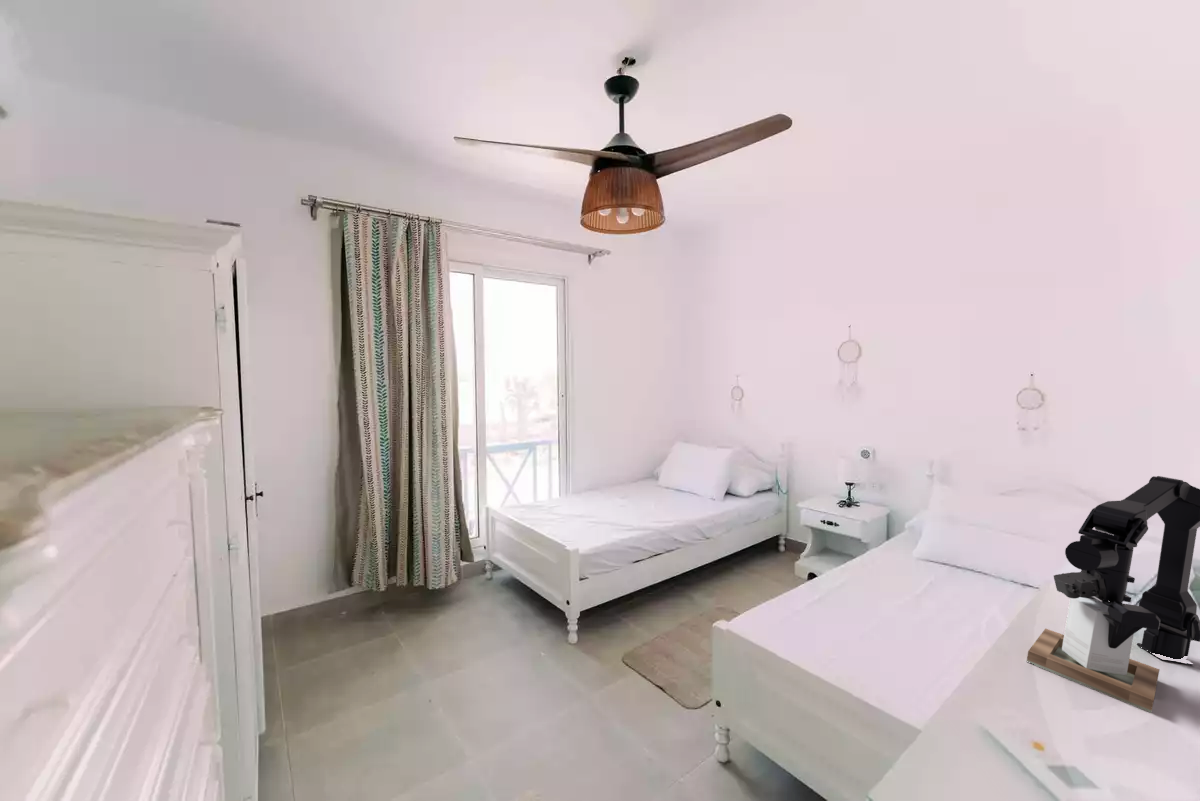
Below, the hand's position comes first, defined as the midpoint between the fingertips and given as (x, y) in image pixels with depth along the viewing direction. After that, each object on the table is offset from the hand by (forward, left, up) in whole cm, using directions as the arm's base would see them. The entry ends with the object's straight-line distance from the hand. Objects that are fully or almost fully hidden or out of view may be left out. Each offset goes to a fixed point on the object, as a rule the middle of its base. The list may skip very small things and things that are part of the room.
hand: (1097, 637), depth 103 cm
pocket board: (0, 0, -7) cm, 7 cm away
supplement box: (0, 0, -6) cm, 6 cm away
